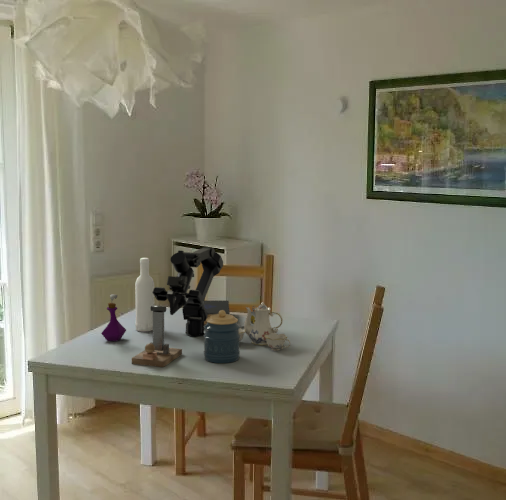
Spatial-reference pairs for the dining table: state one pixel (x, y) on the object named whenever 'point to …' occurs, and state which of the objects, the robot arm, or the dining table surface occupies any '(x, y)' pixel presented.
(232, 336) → the canister
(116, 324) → the perfume bottle
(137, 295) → the bottle
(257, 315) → the chinaware
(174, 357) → the board
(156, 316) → the lever
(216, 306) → the book
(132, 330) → the dining table surface
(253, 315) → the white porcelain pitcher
